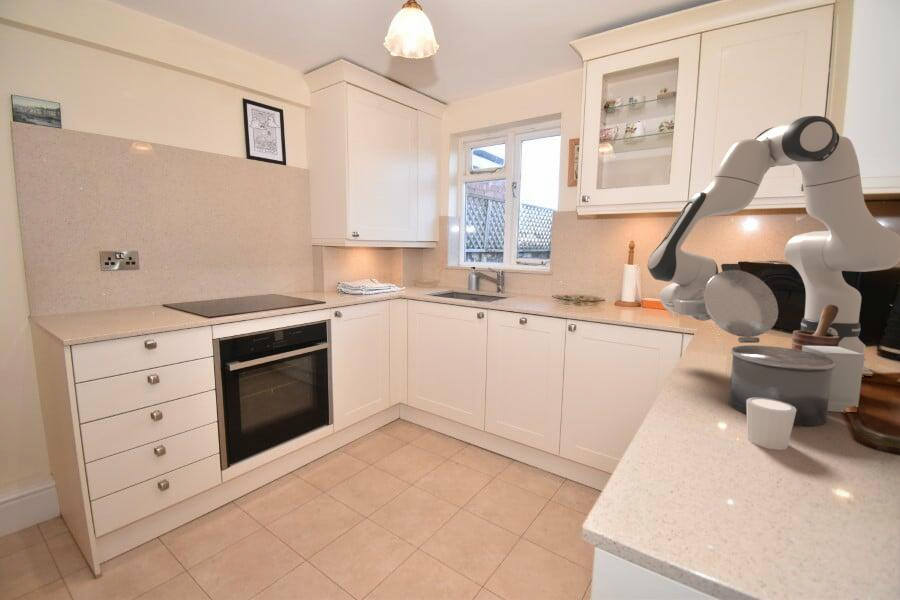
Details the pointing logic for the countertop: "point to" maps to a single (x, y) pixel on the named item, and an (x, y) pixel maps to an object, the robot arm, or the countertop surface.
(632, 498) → the countertop surface
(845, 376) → the supplement box
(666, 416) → the countertop surface
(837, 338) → the mortar and pestle
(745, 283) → the cooker lid
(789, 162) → the robot arm
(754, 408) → the white tapered cup
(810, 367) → the cooker pot
